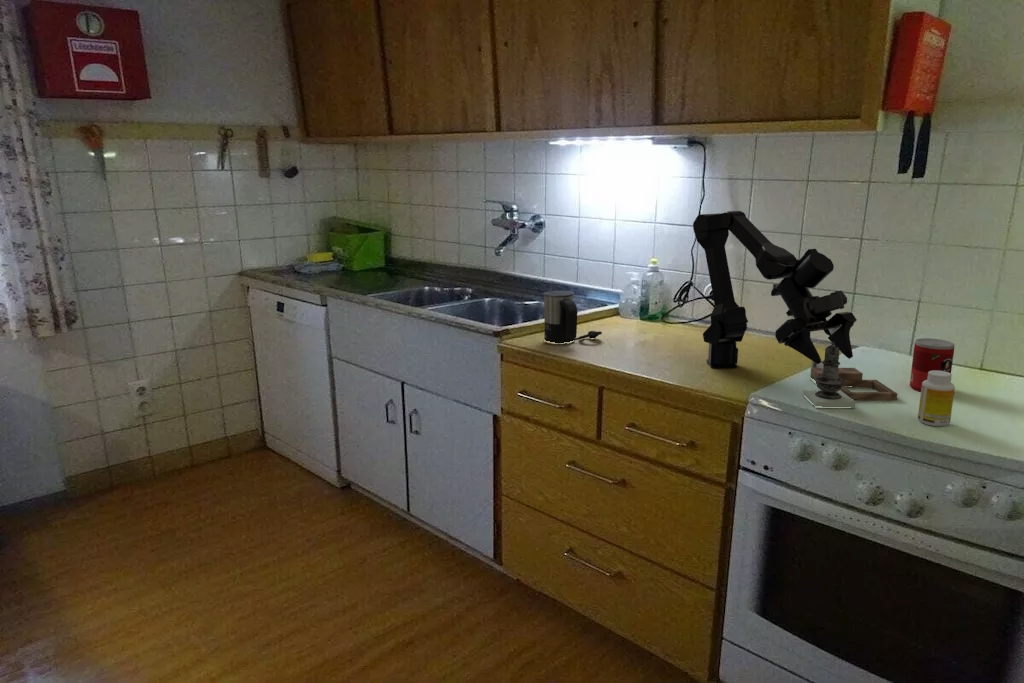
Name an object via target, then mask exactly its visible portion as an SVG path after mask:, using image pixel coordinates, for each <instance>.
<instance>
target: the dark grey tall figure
mask: <svg viewBox="0 0 1024 683" xmlns="http://www.w3.org/2000/svg"><path fill="white" fill-rule="evenodd" d="M830 343H831V345H829V346H826V348H825V349H824V357H823V358H824V359H823V361H822V360H821V362H822V363H823V364H824V365H823V372H822V375H821V376H818V377H816V378H815V380H816V384H817V385H816V384H815V385H816V386H817V388H818V389H819V390H821V391H818V392H816V393H815V395H816V396H817V397H820V398H823V399H833V400H834V399H840V398H841V397H842V396H841V395H840V394H839V393H837V391H839V390H840V389H841V388H842V386H843V383H844V382H845V381H844V380H843V379H841V378H839V375H838V368H839V366H840V365H841V362H840V361H839V360H840V350H839V348H838V347H836V346H835V345H834V342H830Z"/></svg>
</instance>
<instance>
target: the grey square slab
mask: <svg viewBox="0 0 1024 683" xmlns="http://www.w3.org/2000/svg"><path fill="white" fill-rule="evenodd" d="M818 391H821V390H820V389H819V390H817V389H815V390H814V389H811V390H809V389H805V390H803V392H802V395H803V394H804V395H805V396H806V397H807V398H808V399H809V400H810V401H811V402H812V403H813V404H814V405H815V406H822V407H851V408H855V409H856V400H852V399H851V398H850V397H848V396H847V395H846V394H845V393H843V392H842V391H841V390H839V391H837V393H839V394H840V395H841V396H842V397H841V398H840V399H834V400H833V399H823V398H820V397H817V396H816V395H815V393H816V392H818Z"/></svg>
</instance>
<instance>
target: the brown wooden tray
mask: <svg viewBox="0 0 1024 683" xmlns="http://www.w3.org/2000/svg"><path fill="white" fill-rule="evenodd" d="M822 372H823V369H822V368H810V375H809V376H810V377H811V378H812V379H814V380H815V378H816V377H818V376H821V375H822ZM838 375H839V378H841V379H843V380H844V381H845V382H844V383H843V386H842V388H841V389H840V390H841V391H842V392H843V393H845V394H846V395H847V396H848V397H850V398H851V399H857V400H856V401H897V400H898V393H897V392H896V391H894V390H893V389H891V388H889V387H888V386H886V385H885V384H883V383H882V382H881V381H879V380H877V379H863V375H864V373H862V372H861V371H860V370H859V369H857V368H855V367H838ZM810 377H809V378H810ZM815 381H816V380H815ZM845 386H852V387H851V388H873V389H874V390H875V391H851V390H850V388H848V387H845Z"/></svg>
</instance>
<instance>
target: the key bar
mask: <svg viewBox="0 0 1024 683" xmlns="http://www.w3.org/2000/svg"><path fill="white" fill-rule="evenodd" d="M823 365H824V364H823V363H822V361H821V363H819V364H816V363H815V362H813V361H811V365H810V366H811V368H822V369H823ZM811 368H810V369H811Z"/></svg>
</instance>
